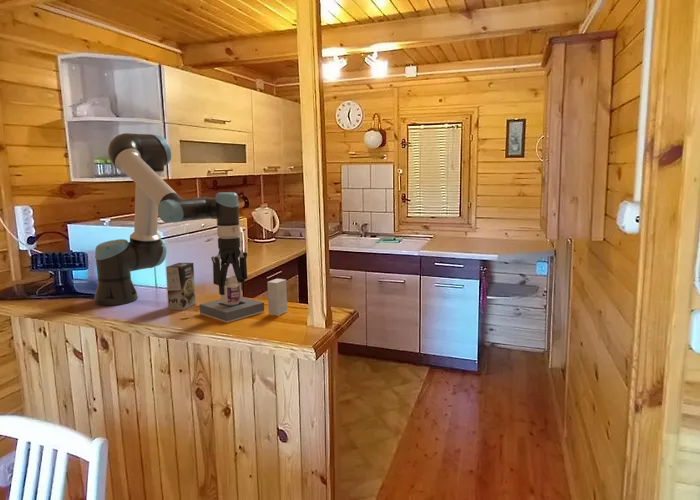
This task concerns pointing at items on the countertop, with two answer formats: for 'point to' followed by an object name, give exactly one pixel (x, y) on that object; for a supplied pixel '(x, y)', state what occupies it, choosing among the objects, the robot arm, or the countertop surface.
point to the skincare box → (277, 297)
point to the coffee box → (180, 286)
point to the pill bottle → (232, 290)
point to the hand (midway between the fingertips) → (231, 301)
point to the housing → (231, 309)
